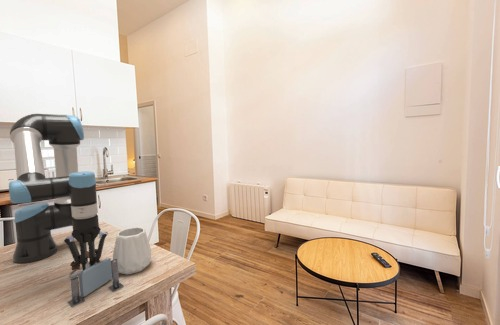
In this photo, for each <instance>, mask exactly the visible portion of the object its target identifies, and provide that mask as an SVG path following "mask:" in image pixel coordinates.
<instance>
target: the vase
mask: <svg viewBox="0 0 500 325" xmlns="http://www.w3.org/2000/svg"><path fill="white" fill-rule="evenodd" d="M113 259H117V261H118V274H122V275H128V276H129V275H132V274H136V273H140V272H142V271H143V270H144V269H146V268H147V267H148V266H149V265H150V263H151V260H152V247H151V244H150V241H149V238H148V235H147V232H146V229H145V228H143V227H130V228H125V229H122V230H121V231H119V232H117V234H116V237H115V243H114V248H113V255H112V260H113Z"/></svg>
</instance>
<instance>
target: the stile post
mask: <svg viewBox="0 0 500 325" xmlns="http://www.w3.org/2000/svg"><path fill="white" fill-rule="evenodd" d="M111 270H112V279H111V282H112V285H110V286H108V290H110V291H111V292H113V293H114V292H116V291H118V290H120V289H122V288H124V286H125V285H123V284H122V283H121V282H120V279H119V278H120V277H119V275H120V274H119V273H118V261H117V259H113V258H112V259H111Z"/></svg>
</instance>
